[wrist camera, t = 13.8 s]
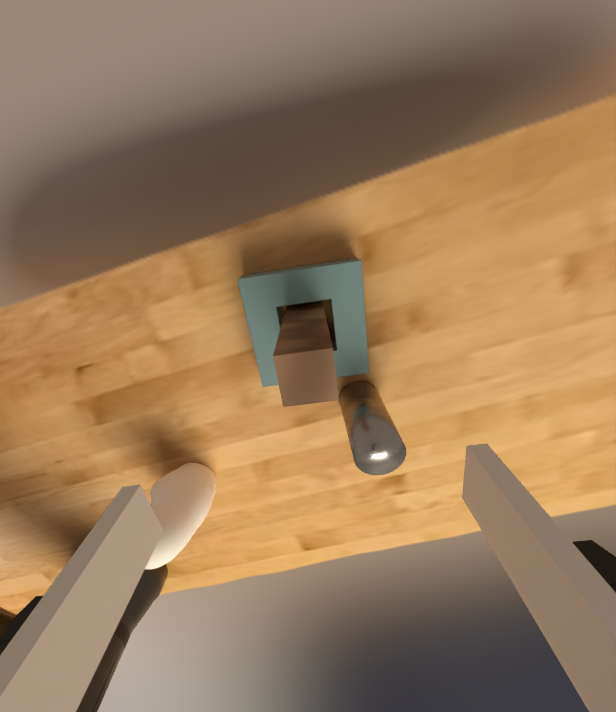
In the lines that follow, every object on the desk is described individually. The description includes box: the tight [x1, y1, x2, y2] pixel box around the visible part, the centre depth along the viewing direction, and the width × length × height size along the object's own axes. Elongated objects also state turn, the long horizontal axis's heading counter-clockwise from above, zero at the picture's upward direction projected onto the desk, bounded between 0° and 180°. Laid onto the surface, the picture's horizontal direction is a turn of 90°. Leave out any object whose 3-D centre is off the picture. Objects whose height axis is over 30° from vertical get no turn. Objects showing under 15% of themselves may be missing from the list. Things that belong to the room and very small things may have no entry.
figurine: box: [145, 463, 216, 569], centre depth 36 cm, size 7×8×12 cm
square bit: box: [273, 301, 339, 407], centre depth 26 cm, size 4×4×14 cm
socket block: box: [237, 258, 369, 387], centre depth 31 cm, size 12×12×3 cm
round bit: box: [339, 381, 406, 475], centre depth 32 cm, size 5×5×10 cm
